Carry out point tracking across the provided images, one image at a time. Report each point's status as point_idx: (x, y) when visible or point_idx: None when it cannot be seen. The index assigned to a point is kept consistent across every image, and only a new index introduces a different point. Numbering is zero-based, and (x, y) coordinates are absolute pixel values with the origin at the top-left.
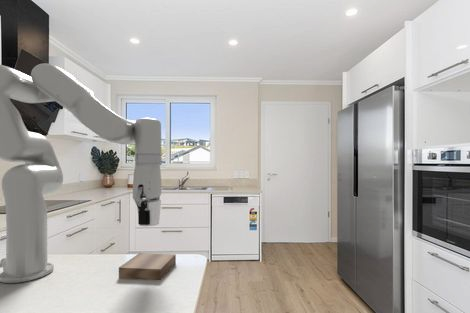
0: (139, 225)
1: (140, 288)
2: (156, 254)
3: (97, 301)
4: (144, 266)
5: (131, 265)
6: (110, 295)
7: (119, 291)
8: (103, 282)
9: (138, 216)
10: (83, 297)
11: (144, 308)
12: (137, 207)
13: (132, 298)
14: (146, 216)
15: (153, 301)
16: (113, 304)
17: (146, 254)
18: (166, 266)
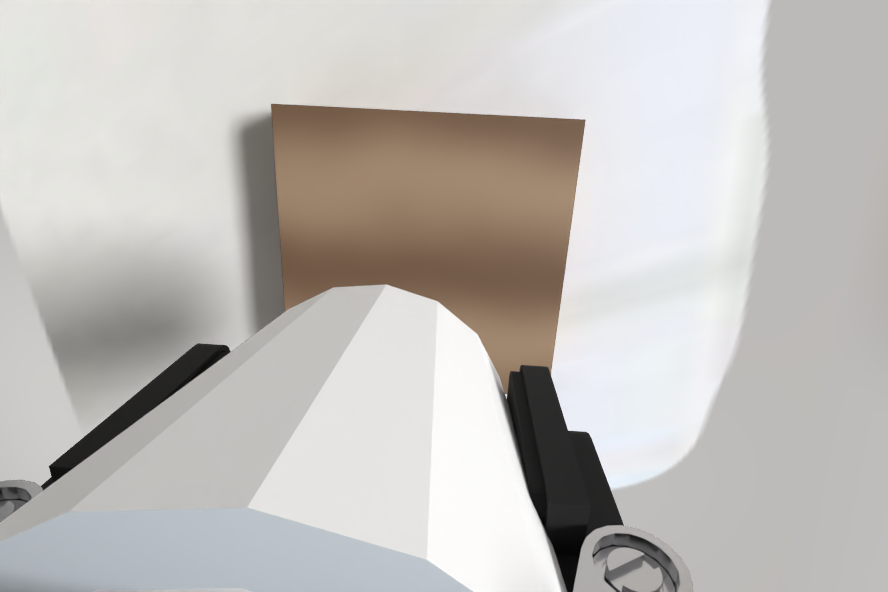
0: (285, 311)
1: (209, 284)
2: (548, 271)
3: (37, 133)
4: (317, 272)
5: (321, 179)
6: (106, 167)
7: (155, 192)
8: (231, 30)
9: (131, 400)
10: (44, 24)
11: (58, 366)
12: (148, 425)
13: (112, 287)
14: None
15: (116, 382)
16: (41, 227)
17: (550, 195)
18: None
